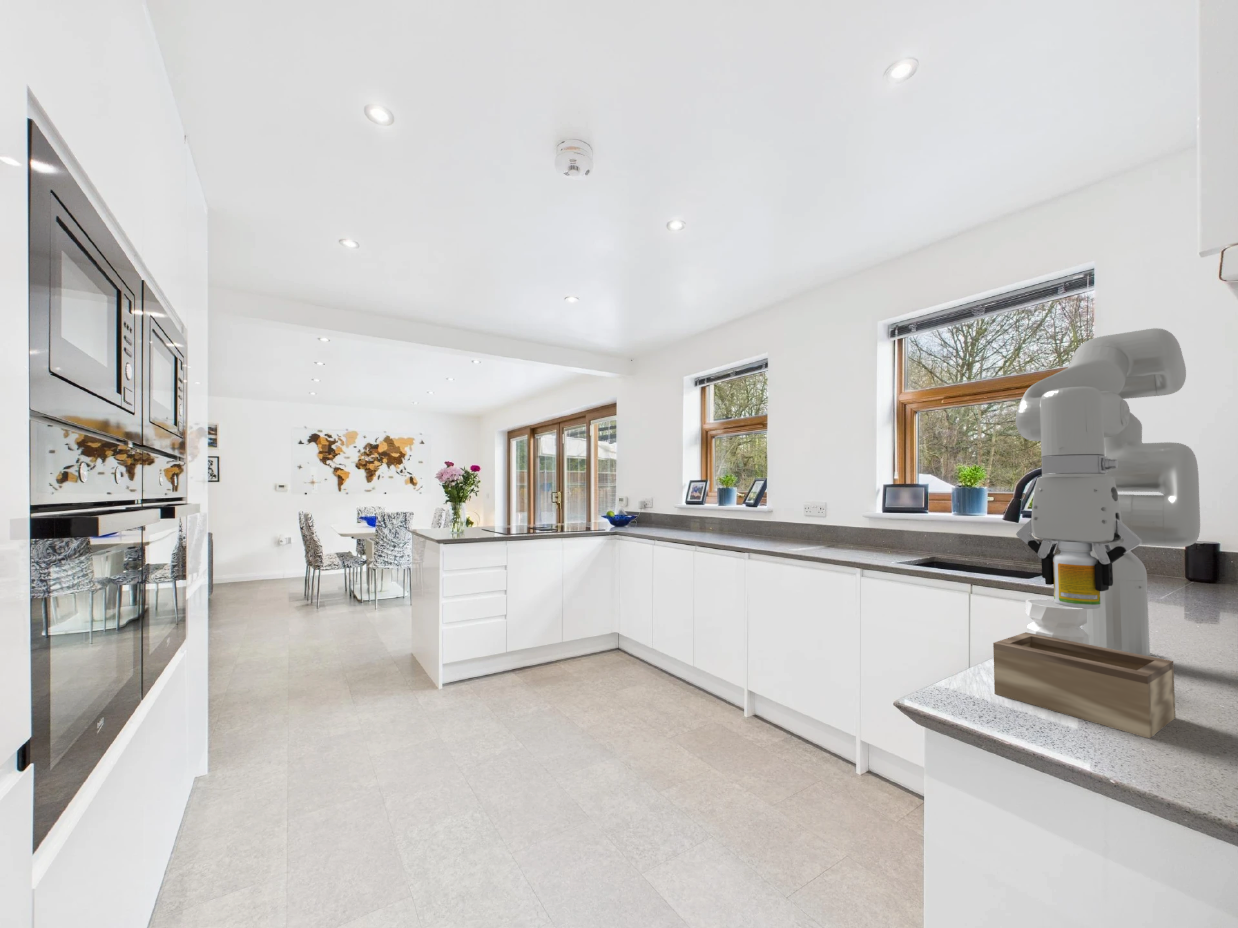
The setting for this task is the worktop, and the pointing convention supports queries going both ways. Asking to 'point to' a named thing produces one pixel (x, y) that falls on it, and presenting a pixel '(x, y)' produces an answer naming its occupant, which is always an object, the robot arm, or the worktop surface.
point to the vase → (1056, 620)
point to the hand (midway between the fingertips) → (1076, 585)
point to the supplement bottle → (1075, 576)
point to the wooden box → (1087, 682)
